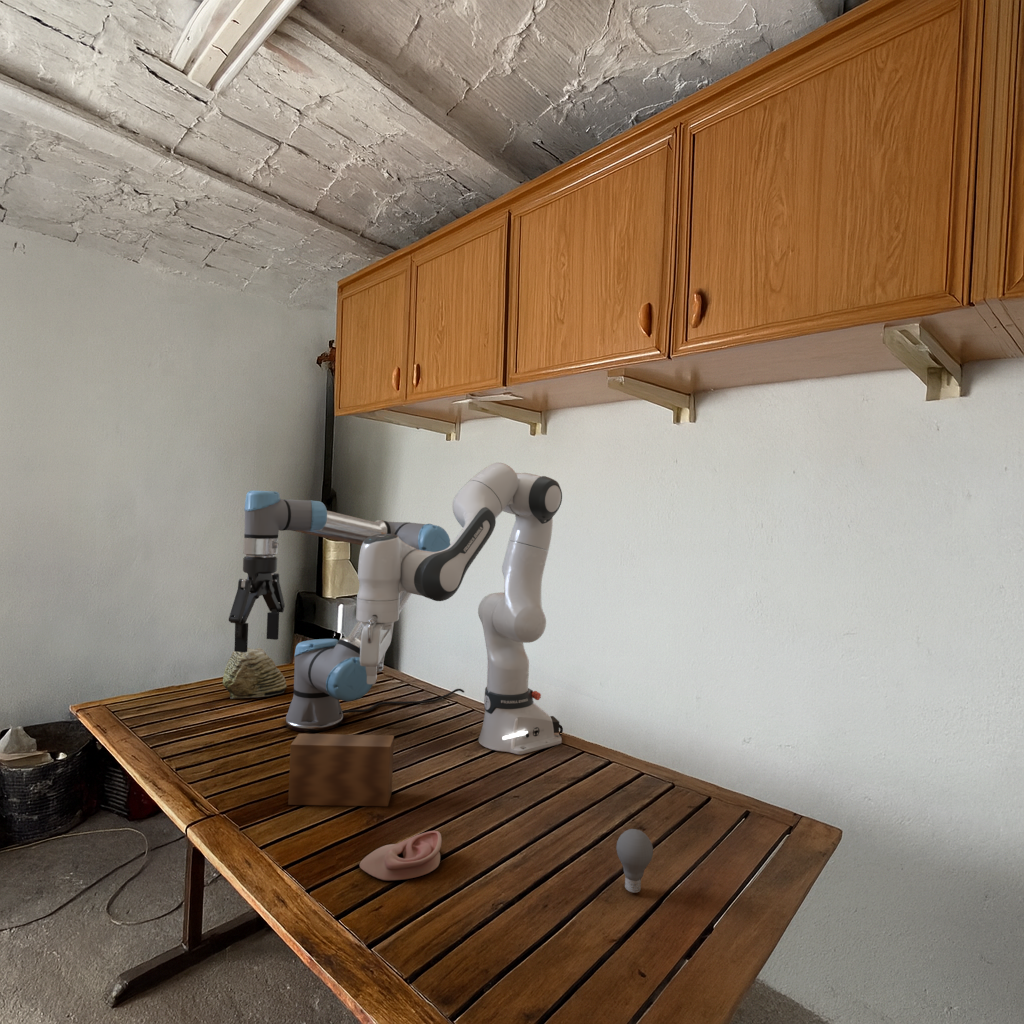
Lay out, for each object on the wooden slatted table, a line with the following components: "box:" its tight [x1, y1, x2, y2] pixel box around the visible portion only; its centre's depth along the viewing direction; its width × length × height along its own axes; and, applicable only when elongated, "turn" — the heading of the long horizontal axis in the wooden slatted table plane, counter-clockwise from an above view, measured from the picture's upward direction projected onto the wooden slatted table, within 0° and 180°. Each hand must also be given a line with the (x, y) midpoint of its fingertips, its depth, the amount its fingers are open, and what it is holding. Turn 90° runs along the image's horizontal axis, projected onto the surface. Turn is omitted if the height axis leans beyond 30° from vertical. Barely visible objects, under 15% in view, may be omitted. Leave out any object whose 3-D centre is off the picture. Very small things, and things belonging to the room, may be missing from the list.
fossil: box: [222, 647, 288, 699], centre depth 198 cm, size 9×18×15 cm, turn 132°
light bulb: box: [615, 828, 654, 894], centre depth 106 cm, size 6×6×10 cm
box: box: [287, 733, 395, 807], centre depth 133 cm, size 20×6×12 cm, turn 93°
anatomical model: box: [359, 830, 443, 882], centre depth 111 cm, size 13×4×12 cm
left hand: (257, 645), depth 150 cm, fingers open, 13 cm apart
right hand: (375, 676), depth 133 cm, fingers open, 8 cm apart
